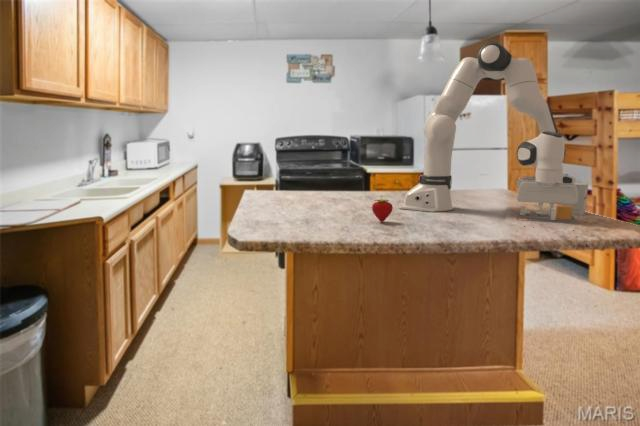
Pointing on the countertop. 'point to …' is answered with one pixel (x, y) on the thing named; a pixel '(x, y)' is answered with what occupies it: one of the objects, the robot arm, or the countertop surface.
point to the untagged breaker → (522, 210)
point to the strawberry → (382, 209)
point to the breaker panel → (543, 218)
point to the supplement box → (580, 199)
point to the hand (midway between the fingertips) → (545, 215)
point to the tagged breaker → (553, 215)
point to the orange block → (563, 211)
